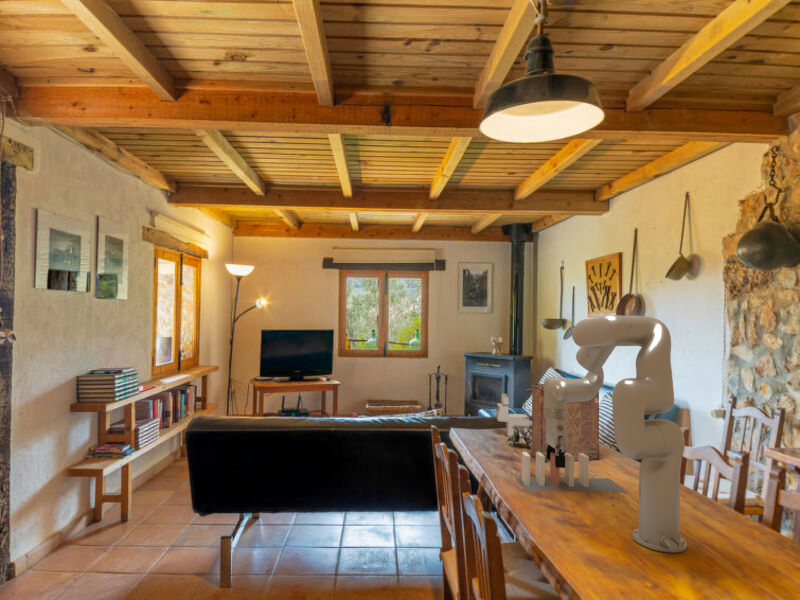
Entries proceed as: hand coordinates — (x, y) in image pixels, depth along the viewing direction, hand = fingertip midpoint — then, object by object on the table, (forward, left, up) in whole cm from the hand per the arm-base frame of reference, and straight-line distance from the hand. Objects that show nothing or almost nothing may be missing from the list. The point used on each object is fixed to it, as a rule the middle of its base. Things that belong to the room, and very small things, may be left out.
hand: (555, 463), depth 170 cm
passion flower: (+51, 0, -8) cm, 51 cm away
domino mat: (0, -5, -8) cm, 9 cm away
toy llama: (+71, -3, -8) cm, 72 cm away
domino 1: (0, +10, -7) cm, 12 cm away
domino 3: (0, 0, -7) cm, 7 cm away
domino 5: (0, -10, -7) cm, 12 cm away
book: (+34, -15, -8) cm, 38 cm away
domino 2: (0, +5, -7) cm, 9 cm away
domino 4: (0, -5, -7) cm, 9 cm away
